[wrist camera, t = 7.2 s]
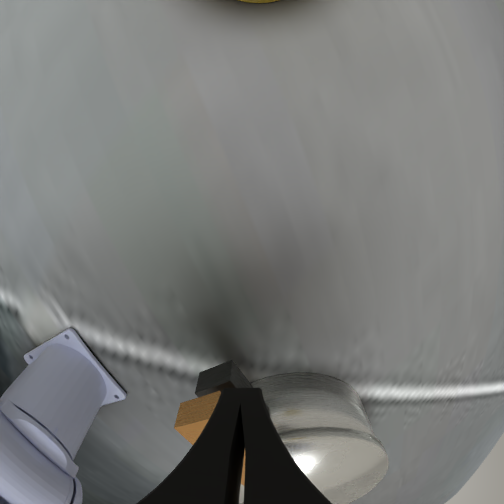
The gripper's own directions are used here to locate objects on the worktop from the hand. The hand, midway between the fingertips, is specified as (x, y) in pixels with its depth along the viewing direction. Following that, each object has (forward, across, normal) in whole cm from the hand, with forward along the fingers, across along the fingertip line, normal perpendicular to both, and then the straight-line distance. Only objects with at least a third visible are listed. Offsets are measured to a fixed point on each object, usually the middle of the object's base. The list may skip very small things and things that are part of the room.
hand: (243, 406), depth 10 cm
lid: (+4, -2, +12) cm, 13 cm away
